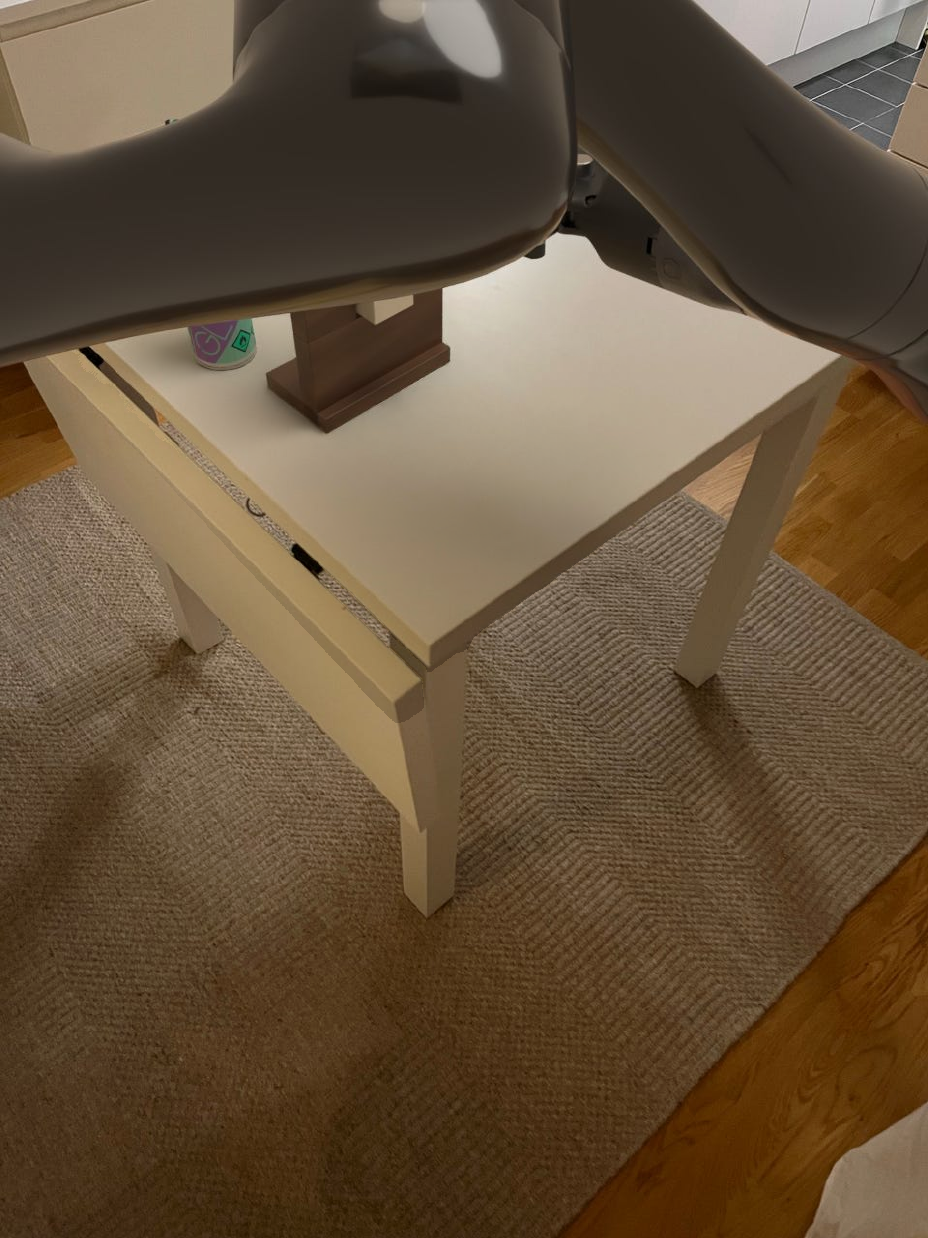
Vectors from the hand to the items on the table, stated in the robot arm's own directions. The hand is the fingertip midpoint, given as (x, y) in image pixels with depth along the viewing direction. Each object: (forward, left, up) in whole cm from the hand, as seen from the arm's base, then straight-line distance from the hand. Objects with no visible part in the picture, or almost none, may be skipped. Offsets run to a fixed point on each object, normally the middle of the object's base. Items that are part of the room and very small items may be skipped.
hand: (478, 145), depth 59 cm
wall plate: (-9, +10, -24) cm, 28 cm away
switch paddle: (-6, +7, -16) cm, 19 cm away
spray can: (-21, +13, -25) cm, 35 cm away
